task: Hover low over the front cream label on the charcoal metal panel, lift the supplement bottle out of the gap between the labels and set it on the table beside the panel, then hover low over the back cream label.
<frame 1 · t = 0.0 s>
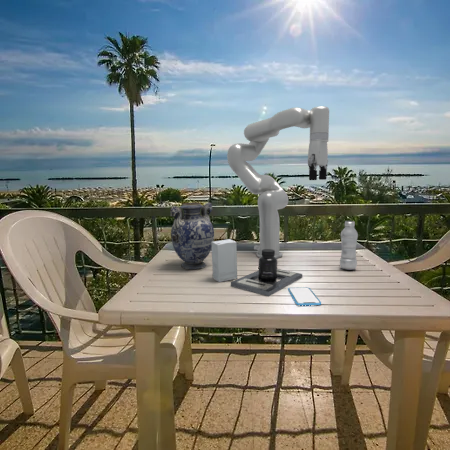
hand: (317, 179, 136), 37 cm above the table, tool pointing down, fingers open, 9 cm apart
plastic bottle: (347, 269, 132), on the table
label panel: (267, 281, 119), on the table
supplement bottle: (267, 282, 119), resting in label panel
smartphone: (303, 298, 104), on the table
decorative vase: (193, 266, 141), on the table
skincare box: (224, 279, 123), on the table
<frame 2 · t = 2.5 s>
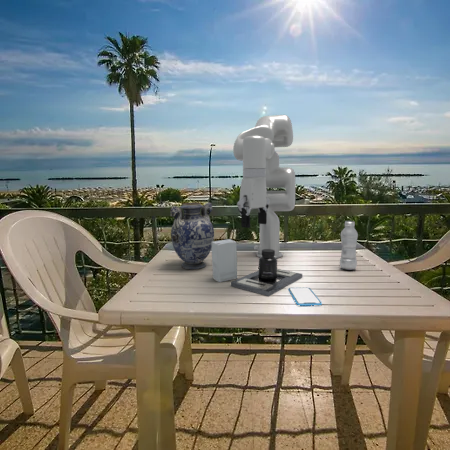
hand: (254, 225, 109), 22 cm above the table, tool pointing down, fingers open, 9 cm apart
nothing on the table moved.
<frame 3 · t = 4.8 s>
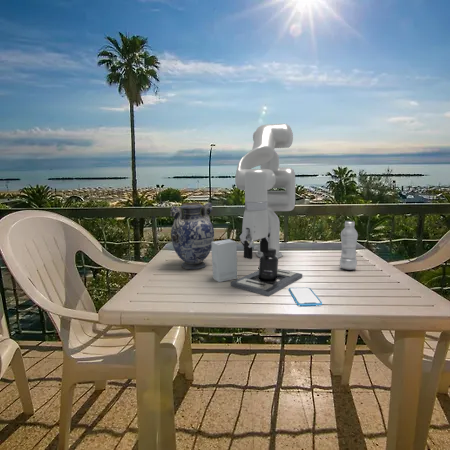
hand: (256, 255, 112), 12 cm above the table, tool pointing down, fingers open, 9 cm apart
supplement bottle: (267, 281, 119), resting in label panel, touching gripper
everything else where it was.
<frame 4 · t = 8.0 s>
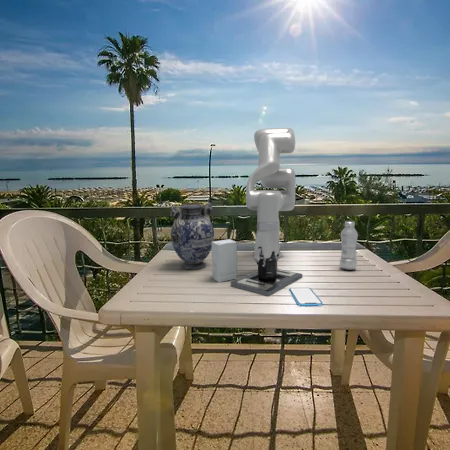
hand: (267, 273, 118), 3 cm above the table, tool pointing down, fingers closed on supplement bottle, 6 cm apart
supplement bottle: (267, 282, 119), resting in label panel, touching gripper
everything else where it was.
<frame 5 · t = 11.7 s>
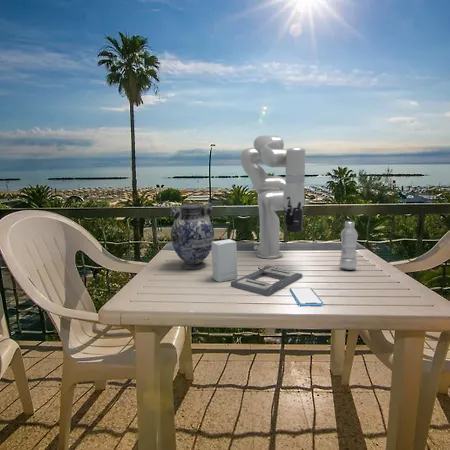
hand: (294, 223, 131), 19 cm above the table, tool pointing down, fingers closed on supplement bottle, 6 cm apart
supplement bottle: (294, 231, 131), point 16 cm above the table, touching gripper
everything else where it was.
when the fingers open (5 cm above the table, at t = 15.0 s): supplement bottle drops 1 cm, on the table.
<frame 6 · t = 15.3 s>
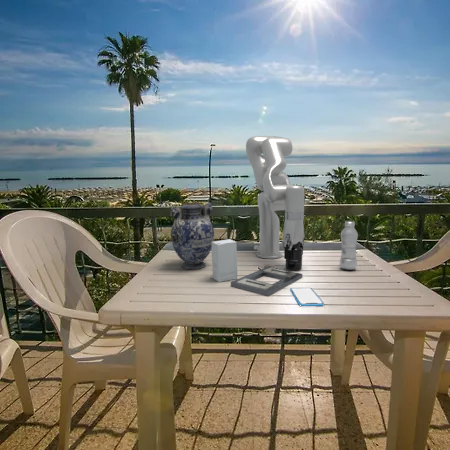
hand: (293, 256, 133), 5 cm above the table, tool pointing down, fingers open, 9 cm apart
supplement bottle: (293, 269, 134), on the table
everything else where it was.
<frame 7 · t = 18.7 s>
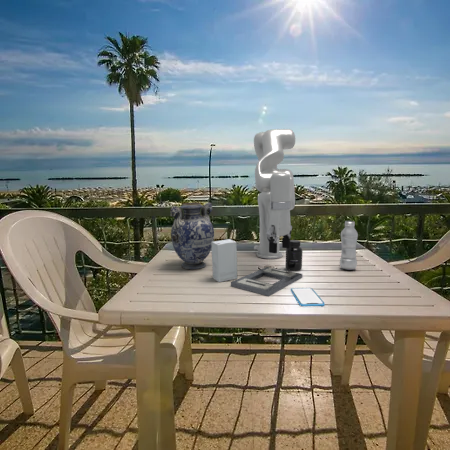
hand: (279, 250, 124), 10 cm above the table, tool pointing down, fingers open, 9 cm apart
nothing on the table moved.
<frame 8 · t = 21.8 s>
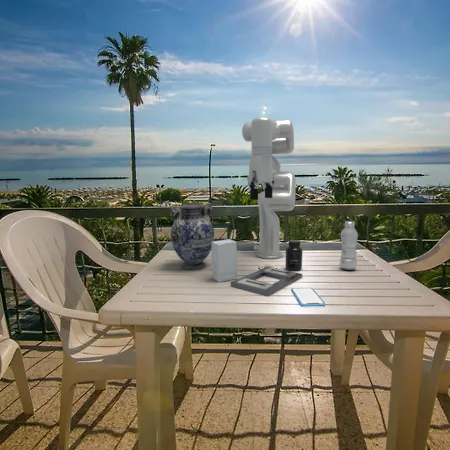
hand: (261, 198, 122), 30 cm above the table, tool pointing down, fingers open, 9 cm apart
at the end: supplement bottle inside the target area (0.3 cm from its centre), on the table; supplement bottle tilted 0°; the gripper is holding nothing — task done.
